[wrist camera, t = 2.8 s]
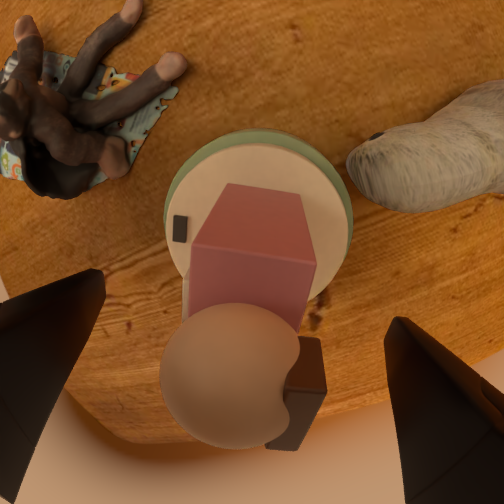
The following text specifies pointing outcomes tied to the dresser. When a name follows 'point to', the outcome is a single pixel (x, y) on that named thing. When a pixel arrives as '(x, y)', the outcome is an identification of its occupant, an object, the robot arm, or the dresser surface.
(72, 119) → the stuffed animal
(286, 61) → the dresser surface
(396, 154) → the decorative bird
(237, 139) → the turntable base
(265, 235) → the doll
